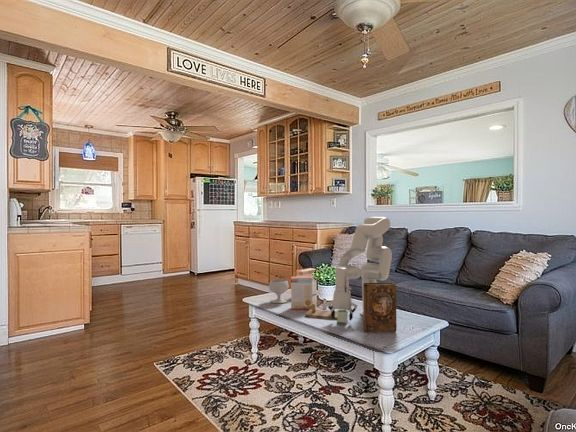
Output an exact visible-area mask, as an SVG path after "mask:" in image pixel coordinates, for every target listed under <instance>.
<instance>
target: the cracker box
mask: <svg viewBox="0 0 576 432" xmlns="http://www.w3.org/2000/svg"><path fill="white" fill-rule="evenodd" d="M290 277H291V278H290V295H291V296H290V299H291V300H290V301H291V302H290V303H291V306H290V307H291V310H307V311H309V310H310V309H312V304H314V300H313V299H314V295H313V286H312V276H297V275H296V276H290Z"/></svg>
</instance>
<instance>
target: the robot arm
mask: <svg viewBox="0 0 576 432" xmlns="http://www.w3.org/2000/svg"><path fill="white" fill-rule="evenodd" d="M390 228H391V220H390V218H388V217H386V216H370V217H366V218H364V220H363V223H362V224H358V225H357V226H356V227H355V231H354V235H353V237H352V241H351V245H350V247H349V248H348V249H347V250H346V251H345V252H344V253H343V254H342V256H341V257H340V259H339V262H338V266H337V267H336V268H335V270H334V271H335V279H334V280H335V283H334V284H335V285H334V286H335V287H334V288H335V289H334V290H333V297H332V300H330V301H329V302H326V305H327V307H328V309H329V311H331V312H332V319H331V320H334V318H335V311H334V309H335V310H339V309H341V310H348V313H349V314H348V315H349V316H348V321H352V319H353V316H354V315H353V313H354V312H355V311H356V309H357V308H358V305H357V304H356V303H354V302H352V295H351V291H350V290H352V287H350V286H349V283H350V280H357V279H359V278H360V277H361V282H362V283H361V286H362V288H361V289H362V290H361V291H362V293H361V294H362V296H361V298H362V309H361V310H360V312H359V315H361V316H363V317H364V297H363V283H378V281H385V280H386V281H387V279H388V278H389V275H390V270H391V265H392V260H393V259H392V258H393V253H392V250H391V249H390V247H387V246H383V244H384V243H383V242H384V238H383V235H384V234H385V233H386V232H388V231H389V230H390ZM366 247H367V248H366ZM365 252H366V254H365V255H366V256H365V257H366V259H367V260H368V261H371V262H365V263H363V264H362V265H360V267H358V266H356V265H352V264H351V265H349V264H350V261H351V260H352V259H353V258H354V257H356V256H359V255H361V254H364V253H365ZM373 262H379V263H373ZM331 304H332V305H333V308H332V307H331ZM352 307H353V308H352Z"/></svg>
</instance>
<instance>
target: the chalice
mask: <svg viewBox="0 0 576 432" xmlns="http://www.w3.org/2000/svg"><path fill="white" fill-rule="evenodd" d="M289 288H290V286H289V282H288V280H287V279H284V278H275V279H274V278H273V279H271V280H270V281H269V283H268V289H269V290H270V292H272V293H274V294H275V295H276V296H277V298H274V299H271V300H269V301H270V303H273V304H284V303H287V302H288V299H285V298H281V296H282V295H283V294H284V293H285V292H287V291H288V290H289Z"/></svg>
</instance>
